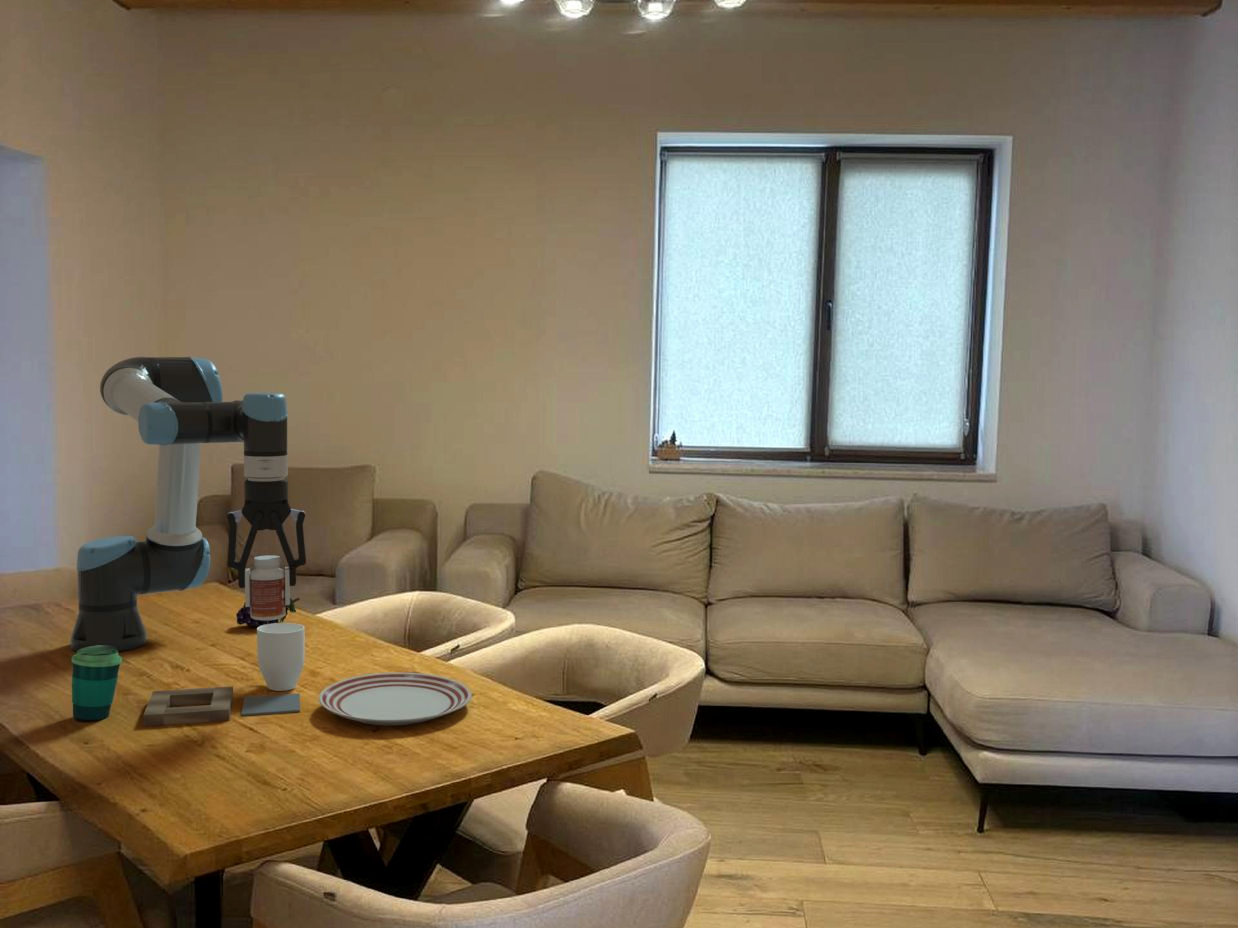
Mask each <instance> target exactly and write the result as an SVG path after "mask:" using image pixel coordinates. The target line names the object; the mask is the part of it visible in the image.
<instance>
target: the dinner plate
mask: <svg viewBox="0 0 1238 928" xmlns="http://www.w3.org/2000/svg"><path fill="white" fill-rule="evenodd" d="M471 699H472V692H471V689H469V688H468V686H467V685H465V684H464V683H461V682H460V681H458V680H455V679H452V678H449V677H446V676H441V675H435V674H430V673H421V672H419V673H417V672H402V671H400V672H398V671H397V672H378V673H370V674H362V675H358V676H351V677H348V678H345V679H342V680H340V681H337V682H334V683H332V684H330V685H328V686H327V687H325V688H323V690H322V691H321V692H320V694H319V695H318V702H319V704H320V705H321V706H322V707H323V708H324V709H326V710H327V711H329V712H331V713H333V714H335V715H337V716H339V717H342V718H345V719H348V720H351V721H356V722H358V723H362V724H367V725H373V726H388V727H389V726H405V725H412V724H413V725H414V724H418V723H424V722H426V721H430V720H434V719H436V718H440V717H443V716H446V715H448V714H450V713H453V712H455V711H457V710H460V709H462V708H464V706H466V705H467V704H468V703H470V700H471Z"/></svg>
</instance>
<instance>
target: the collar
mask: <svg viewBox="0 0 1238 928" xmlns="http://www.w3.org/2000/svg"><path fill="white" fill-rule="evenodd" d="M233 700H234V685H232V686H216V687H201V688H200V687H198V688H197V687H196V688H184V689H169V690H168V689H167V690H152V693H151V696H150V699H149V700H148V703H147V706H146V707H145V710H144V713H143V715H142V717H143V718H142V719H143V722H142V724H143V725H142V726H143V727H156V726H157V727H158V726H171V725H182V724H185V725H186V724H197V723H198V724H199V723H212V722H213V723H214V722H226V721H227V722H228V721H230V717H231V712H232V707H233ZM207 704H208V705H207ZM209 704H210V705H209ZM191 705H192V706H191ZM195 705H196V706H195ZM174 706H175V707H174ZM176 706H179V707H176Z"/></svg>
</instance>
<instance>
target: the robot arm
mask: <svg viewBox="0 0 1238 928" xmlns="http://www.w3.org/2000/svg"><path fill="white" fill-rule="evenodd" d="M222 388H223V387H222V382H221V377H220V375H219V372H218V369H217V367H216V365H215V364H214V363H213V362H212V361H211V360H209V358H200V357H192V356H178V357H177V356H174V357H173V356H170V357H169V356H164V357H163V356H161V357H160V356H159V357H153V356H152V357H151V356H150V357H147V356H136V357H130V358H126V359H124V360H121V361H118V362H117V363H115V364H113V365H112V366H111V367H110V368H108V369H107V370H106V372H105V373H104V374H103V376H102V377H101V381H100V384H99V393H100V396H101V398H102V401H103V402H104V403H105V404H106V406H107V407H109V408H110V409H111V410H112V411H114V412H116V413H117V414H120V415H124V416H129V417H131V418H132V419H133V420H135V421H136V422H137V424H138V432H139V436H140V437H141V441H142V442H144V444H147V445H158V458H157V459H158V460H157V461H158V462H157V463H158V464H157V475H156V476H157V477H156V479H157V480H156V495H155V511H154V525H153V526H151V527H150V528H149V529H147V531H146V539H145V540H144V541H137V539H136V538H135V536H132V535H119V536H118V535H117V536H115V535H114V536H109V537H104V538H103V537H102V538H98V539H96V540H92V541H89V542H87V543H84V544H83V545H82V546H81V547H79V549H78V551H77V560H76V561H77V562H76V567H75V568H76V570H77V593H78V595H77V596H78V597H77V598H78V601H77V602H78V614H77V617H76V620H75V623H74V627H73V629H72V633H71V636H70V649H71V650H72V651H74V652H77V651H78V650H79V649H82V648H85V647H90V646H97V645H110V646H115V647H116V648H117V651H118V653H119V652H124V651H130V650H133V649H136V648H139V647H140V648H141V647H142V646H144V645H145V644H146V643H147V640H148V639H147V631H146V628H145V625H144V622H143V620H142V616H141V615H140V612H139V610H138V595H148V594H157V593H165V592H174V591H178V592H179V591H180V592H181V591H185V590H188V589H195V588H198V587H200V586H201V585H202V584H204V582H205V581H206V579H207V576H208V574H209V569H210V566H211V555H210V552H211V549H210V547H211V546H210V543H209V542H208V540H207V539H206V537H203V533H202V531H201V530H200V529H199V528H198V527H197V526H196V525H197V513H198V500H199V499H198V498H199V485H200V472H201V458H202V457H201V456H202V444H217V443H218V444H219V443H221V444H223V443H243V475H244V477H245V478H247V479H246V480H245V481H244V485H243V486H244V492H243V493H244V504H243V506H242V508H241V509H240V510H239V509H238V510H236V511H233V510H232V511H229V512H228V513H227V515H226V519H227V521H228V525H229V533H228V534H229V535H228V547H227V548H228V549H227V551H228V552H227V563H226V564H227V567H228V568H230V569H235V570H236V571H237V572H238V573H237V575H238V577H237V578H238V579H237V580H238V583H237V584H238V587H239V589H244V595H245V596H244V600H245V602H244V603H245V607H250V573H251V568H246V567H247V563H248V561H249V557H250V554H251V551H252V548H253V545H254V542H255V539H256V536H257V533H258V532H259V531H265V530H269V531H275V532H276V535H277V537H278V540H279V542H280V546H281V549H282V551H283V554H284V557H285V560H286V562H287V565H288V566H285V567H284V572H285V605H290V598H291V595H290V594H291V591H290V590H291V589H290V587H295V586H296V585H297V568H299V567H302V566H305V565H306V563H307V556H306V544H305V535H304V534H305V533H304V521H305V518H306V512H305V510H303V509H301V510H298V509H293V508H292V507H291V505H290V503H289V480H287V479H286V477H288V474H289V464H288V461H289V460H288V458H289V457H288V456H289V455H288V417H289V411H288V408H287V407H288V405H287V398H286V396H285V395H284V394H283V393H281V392H280V393H278V392H247V393H245V395H244V396H243V397H242V398H243V400H233V401H223V396H224V395H223V389H222ZM289 516H292V517H291V518H292V522H295V531H296V541H297V551H298V553H297V554H298V555H297V556H298V558H296V559H295V557H294V554H293V551H292V548H291V545H290V544H289V540H288V537H287V534H286V532H285V529H284V526H283V524H284V522H286V520H287V518H288V517H289ZM242 517H244V519H246V520H247V522H248V523H249V524H250V526H251V528H250V530H249V534H248V536H247V539H246V542H245V544H244V545H245V546H244V548H243V551H242V554H241V557H240V559H239V561H238V560H236V557H237V556H236V555H237V541H238V540H237V539H238V524H239V523H240V522H241V520H242Z"/></svg>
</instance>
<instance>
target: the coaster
mask: <svg viewBox="0 0 1238 928" xmlns="http://www.w3.org/2000/svg"><path fill="white" fill-rule="evenodd" d="M300 696H301V695H300V693H285V694H271V695H270V694H269V695H255V696H244V697H243V702H242V707H241V717H247V716H260V715H261V716H263V715H264V716H265V715H274V714H276V715H279V714H291V713H300V712H301V709H300V708H301V706H300V705H301V701H300V699H301V698H300Z"/></svg>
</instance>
